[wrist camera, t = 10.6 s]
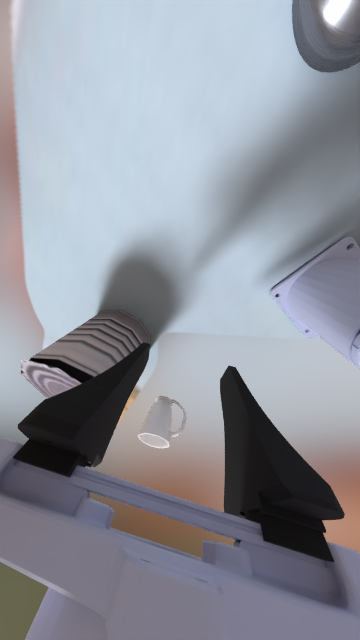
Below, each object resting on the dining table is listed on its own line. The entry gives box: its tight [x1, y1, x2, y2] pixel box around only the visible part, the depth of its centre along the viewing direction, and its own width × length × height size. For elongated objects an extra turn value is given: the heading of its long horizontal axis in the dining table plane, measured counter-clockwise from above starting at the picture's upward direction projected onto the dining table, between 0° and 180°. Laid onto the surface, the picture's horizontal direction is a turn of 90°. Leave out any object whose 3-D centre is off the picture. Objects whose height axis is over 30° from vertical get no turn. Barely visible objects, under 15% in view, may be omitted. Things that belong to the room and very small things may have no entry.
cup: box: [138, 396, 186, 448], centre depth 30 cm, size 7×10×8 cm
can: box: [21, 310, 151, 398], centre depth 20 cm, size 11×11×12 cm
